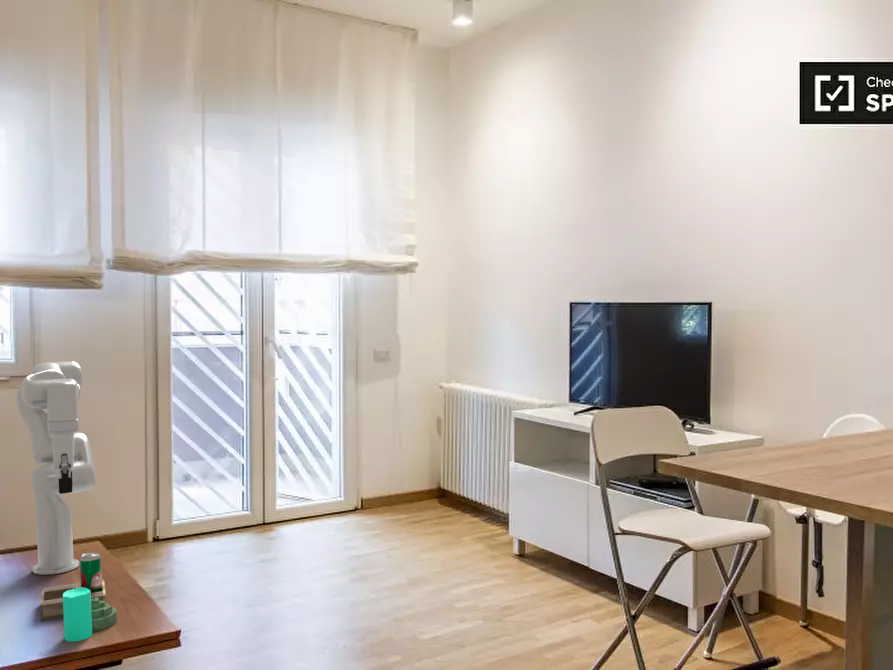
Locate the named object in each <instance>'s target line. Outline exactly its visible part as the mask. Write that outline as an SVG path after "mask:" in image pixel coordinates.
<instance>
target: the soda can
mask: <svg viewBox="0 0 893 670" xmlns="http://www.w3.org/2000/svg"><path fill="white" fill-rule="evenodd" d="M79 577H80V583H81V587H82V588H87V589H89V590H90V592H91V593H94V592H100V591H102V580H103V579H102V556H101V555H100V553H99V552H97V551H95V552H94V551H93V552H85V553H83V554H82V555H81V556H80V559H79Z"/></svg>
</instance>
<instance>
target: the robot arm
mask: <svg viewBox="0 0 893 670" xmlns="http://www.w3.org/2000/svg"><path fill="white" fill-rule="evenodd" d="M83 376H84V375H83V370H82V367H81V366H80V364H79V363H78V362H76V361H72V360H70V361H69V360H65V361H50V362H49V361H47V362H40V363H38V364H35V366H33V367H32V368H31V370H30V371H29V375H27V376H26V377H24V378H23V379H22V383H21V386H20V387H19V388H18V390H17V394H16V403H17V409H18V411H19V414H20V416H21V418H22V420H23V422H24V423H25V425H26V427H27V428H28V432H29V437H30V444H31V451H32V452H31V453H32V455H33V460H34V462H35V463H36V464H37V465H38V466H37V467H36V468H35V469H33V471H32V472H31V476H30V481H31V486H32V491H33V496H34V497H33V498H34V503H35V504H34V506H35V517H36V518H35V519H36V521H35V522H36V542H37V543H36V544H37V561H38V563H37V564H35V565H34V566H32V573H34V574H35V575H41V576H45V575H57V574H58V575H59V574H62V573H66V572H69V571H72V570H76V569H77V568H79V567H80V560H78V559H76V558H74V546H73V545H74V543H73V541H74V539H73V516H72V507H71V505H70V504H69V502H67V500H65V499H64V498H63V497H62V496H64V495H67V494H68V495H69V494H75V493H82V492H87V491H91V490H92V489H93V488H95V486H96V483H97V476H96V475H97V474H96V468H95V464H94V459H93V455H92V454H93V453H92V449H91V443H90V441H89V438H88V437H87V435H86V434H84V433H83V432H79V431H80V430H79V429H80V427H79V424H80V423H79V407H78V403H79V400H80V397H81V390H82V385H83V380H84V377H83ZM45 410H47V412H46V411H45Z"/></svg>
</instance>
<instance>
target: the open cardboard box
mask: <svg viewBox="0 0 893 670" xmlns="http://www.w3.org/2000/svg"><path fill="white" fill-rule="evenodd" d="M76 586H77V588H80V587H81V582H78V583H72V584H71V583H70V584H64V585H57V586H52V587H44V588H41V594H40V595H41V596H40V602H39V611H40V613H39V614H40V616H39V617H40V622H46V621H52V620H59V619H64V614H63V593H64V592H66V591H68V590H72V589H76ZM106 593H107V592H106V585H105V579H102V591H100V592H94V593H91V599H93V596H94V595H95V598H99V600H101V601H105V603H107V594H106Z"/></svg>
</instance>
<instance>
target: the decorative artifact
mask: <svg viewBox="0 0 893 670" xmlns="http://www.w3.org/2000/svg"><path fill="white" fill-rule="evenodd" d="M91 616H92V632H95V631H100V630H103V629H107V628H110V627H112V626H113V625H115V624H116V623H117V622H118V610H117V608H116V607H114V606H113V605H110V604H109V603H108V602H106V603H105V601H101V600H99V598H95V595H94V596H93V599H91Z"/></svg>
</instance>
